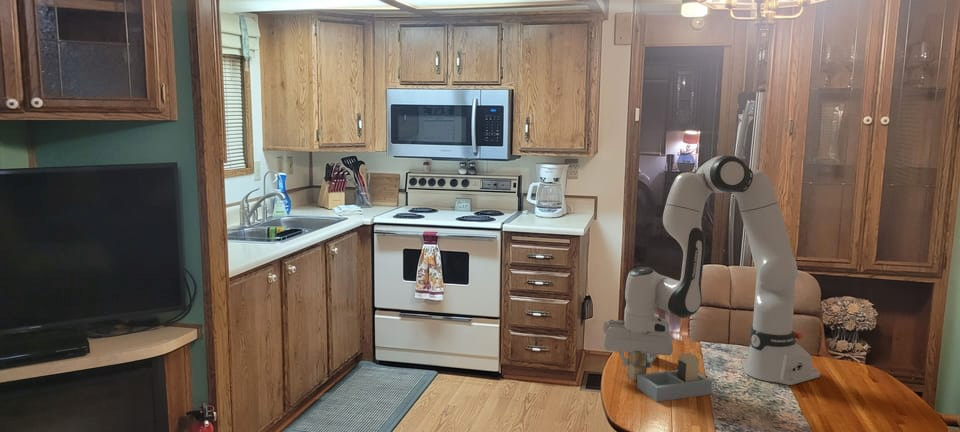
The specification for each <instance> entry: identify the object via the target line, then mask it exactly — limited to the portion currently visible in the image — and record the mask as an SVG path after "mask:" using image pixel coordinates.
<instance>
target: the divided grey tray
mask: <svg viewBox="0 0 960 432" xmlns="http://www.w3.org/2000/svg"><path fill="white" fill-rule="evenodd" d="M699 365H700V357H698V356H697V355H695V354H694V353H691V352H689V353H682V354H681V353H679V354H678V361H677V369H673V370H667V371H658V372H650V373H646V374H640V375H638V377H637V380H636V383H637V384H636V389H638V390H639V391H640V392H642V393H643V394H644V395H646V396H647V397H648V398H650V399H652V401H655V402H658V403H659V402H665V401H671V400H679V399H680V400H681V399H686V398H687V399H688V398H693V397H701V396H709V395H712V387H713V385H712V382H713V381H712V380H711V379H709V378H707V377H706V376H705V375H702V374H701V373H699Z"/></svg>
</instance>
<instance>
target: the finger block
mask: <svg viewBox="0 0 960 432" xmlns="http://www.w3.org/2000/svg"><path fill="white" fill-rule="evenodd" d="M627 359H628V366H626V367H627V368H626V377H628V378H629V379H630V380H632V381H634V382H637V377H638V375H640V374H647V370H648V369H647V354H645V353H641V351H633V352H627Z"/></svg>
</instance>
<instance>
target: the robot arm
mask: <svg viewBox="0 0 960 432" xmlns="http://www.w3.org/2000/svg"><path fill="white" fill-rule="evenodd" d="M726 193H731V194H732V195H733V196H734V197H735V199H736V202H737V205H738V209H739V213H740V216H741V219H742V223H743V226H744V230H745V233H746V235H747V241H748V245H749V248H750V249H749V250H750V252H751V253H750V254H751V256H752V259H753V260H752V261H753V264H754V268H755V271H756V279H755V280H756V281H755V292H754V301H753V302H754V305H753V317H752V318H753V319H752V326H751V327H750V336H749V339H750V345H749V350H748V355H747V358H746V360H745V361H746V362H745V364H744V368H743V371H744V373H745V374H746V375H748V376H750V377H752V378H754V379H757V380H761V381H765V382H772V383H778V384H783V385H786V386H793V385H797V384H799V383H803V382H807V381H810V380H813V379H817V378H821V373H820V371H818V370H817V369H816V368H814V367H813V358H812V355H810V353H809V352H807V351H806V350H805V349H804V348H803V347H802V346H800V345H799V344H798V343H797V341H796V339H798V340H803V337H804V334H803V333H801V332H799V331H795V332H794V330H793V321H794V308H795V293H796V292H795V291H796V289H795V287H796V280H797V278H798V272H799V271H798V270H799V269H798V266H797V261H796V257H795V255H794V252H793V249H792V245H791V243H790V239H789V235H788V231H787V227H786V224H785V220H784V218H783V214H782V210H781V207H780V202H779V199H778V196H777V194H776V191H775V188H774V187H773V184H772V182H771V180H770V178H769V176H768V175H767V174H766V172H764V171H763V170H759V169H751V168H750V167H749V166H747V164H746V163H745V162H744V161H743V160H742V159H741V158H739V157H737V156H734V155H729V154H728V155H718V156H714V157H712V158H711V159H707V160H704V161H703V162H702V163H701V164H700V165H699V166H698V167H697V168H696V169H695V170H694V171H693V172H688V171H687V172H682V173H680V174H678V175H676V177H675V179H674V181H673V182H672V185H671V186H670V190H669V193H668V194H667V195H668V196H667V198H666V202H665V206H664V209H663V210H664V211H663V214H662V225H663V227H664V229H665V231H666V232H667V233H668V235H670V236H671V237H672V238H673V239H674V240H676V241H677V243H678V244H679V245H680V247H681V249H682V253H683V257H682V266H681V274H680V280H677V279H674V278H672V277H669V276H666V275H663V274H660V273H658V272H657V271H655V269H653V268H652V267H647V266H642V267H641V266H640V267H635V268H633V269H631V270H630V271H628V274H627V277H626V283H625V291H624V292H625V293H624V298H625V302H626V303H625V308H624V316H623V317H624V318H623V320H620V319H619V320H618V319H617V320H614V319H609V320H607V321H605V322H604V323H603V332H604V340H603V348H604V349H605V351H609V352H619V356H620V359H621V360H622V366H626V367H627V366H628V358H626V357H625V356H624V355H625V353H628V352H633V351H641V353H645V354H651V359H650V360H647V368H649V369H652V365H653V362H654V361H655V360H656V358H657V357H656V354H657V356H658V355H660V356H671V355H672V354H673V353H674V344H673V338H672V337H673V336H672V333H671V329H670V322H669V321H668V320H667V319H665V318H662V317H660V316H659V317H658V316H655V315H656V311H655V309H657V308H659V309H661V310H664V311H666V312H669V313H671V314H673V315H675V316H677V317H679V318H681V319H687V318H690V317H691V316H693V315H694V314H696V313H697V312H698V311H699V309H700V308H701V304H702V280H703V270H704V269H703V268H704V263H705V262H704V260H705V253H706V252H705V251H706V250H705V249H706V237H705V233H704V232H703V229H702V217H703V213H704V209H705V204H706V202H707V200H708V198H709V197H710V195H712V194H726Z"/></svg>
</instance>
